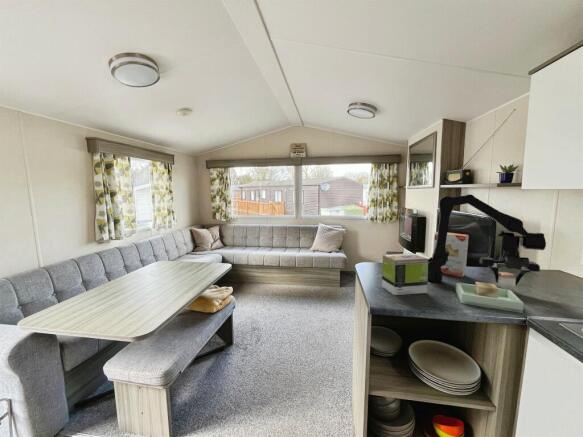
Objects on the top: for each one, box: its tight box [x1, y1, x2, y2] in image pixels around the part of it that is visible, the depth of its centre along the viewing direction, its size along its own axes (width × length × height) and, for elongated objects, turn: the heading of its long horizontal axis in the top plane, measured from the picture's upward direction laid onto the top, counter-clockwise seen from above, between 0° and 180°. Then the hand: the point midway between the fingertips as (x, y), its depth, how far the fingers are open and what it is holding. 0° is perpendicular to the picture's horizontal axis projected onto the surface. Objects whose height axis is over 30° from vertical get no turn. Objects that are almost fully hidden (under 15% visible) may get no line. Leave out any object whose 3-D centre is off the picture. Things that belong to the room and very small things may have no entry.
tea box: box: [381, 253, 429, 296], centre depth 107 cm, size 15×10×15 cm
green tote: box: [455, 282, 525, 314], centre depth 98 cm, size 18×14×4 cm
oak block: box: [474, 281, 499, 298], centre depth 98 cm, size 6×6×5 cm
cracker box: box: [432, 231, 469, 278], centre depth 131 cm, size 14×6×21 cm, turn 43°
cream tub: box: [496, 271, 516, 290], centre depth 108 cm, size 6×6×5 cm
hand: (505, 283), depth 108 cm, fingers closed on cream tub, 6 cm apart
